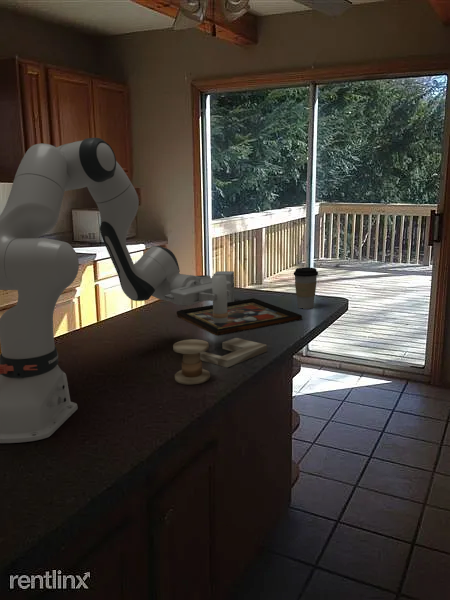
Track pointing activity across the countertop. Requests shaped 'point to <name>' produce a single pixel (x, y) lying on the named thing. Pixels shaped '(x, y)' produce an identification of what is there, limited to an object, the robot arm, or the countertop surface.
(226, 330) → the framed icon painting
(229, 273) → the supplement box
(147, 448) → the countertop surface
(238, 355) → the notch board
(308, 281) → the coffee cup
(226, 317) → the pin
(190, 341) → the spool
